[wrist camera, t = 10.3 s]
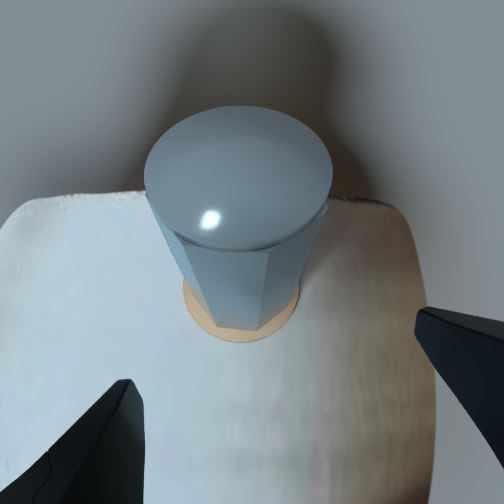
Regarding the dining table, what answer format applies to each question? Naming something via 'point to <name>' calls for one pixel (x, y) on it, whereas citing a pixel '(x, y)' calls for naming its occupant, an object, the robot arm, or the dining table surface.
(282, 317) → the terracotta coaster
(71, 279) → the dining table surface
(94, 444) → the robot arm
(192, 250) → the blue-gray container
